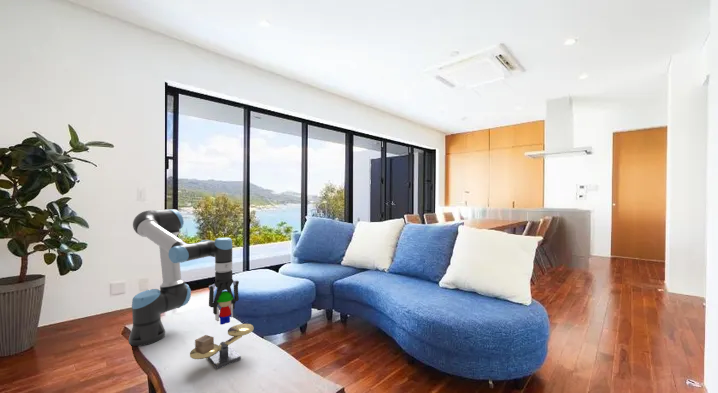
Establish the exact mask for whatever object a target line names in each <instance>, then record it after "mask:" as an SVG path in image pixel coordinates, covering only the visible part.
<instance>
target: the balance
mask: <svg viewBox="0 0 718 393" xmlns="http://www.w3.org/2000/svg"><path fill="white" fill-rule="evenodd" d="M254 328H255V327H254V325H253V324H251V323H240V324H236V325H233V326H231V327H229V328H228V330H227V335H229V336H230V338H229V339H227V340H225V341H221V342H220V344H219V345H218V344H216V343H214V349H213V350H211V351H209V352H207V353H205V354H201V353H198V352H195V348H193V349H192V350H191V351H190V352H189V357H190V358H191V359H192V360H193V359H194V360H205V359H206V360H208V361H209V362H210V363H211V364H212V365H213V366H214V368H215V369H216V370H219V369H220V368H223V367H225V366H228V365H231V364H233V363H237V362H239V361H241V355H240V354H239V353H238V352H237V351H235V349H234V348H232V347H231V346H229V345H231V344H233V343H234V342H236V341H237V340H240V339H241V338H242V337H243V336H247V335H248V334H251V333H252V332H253V331H254Z"/></svg>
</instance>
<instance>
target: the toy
mask: <svg viewBox="0 0 718 393" xmlns="http://www.w3.org/2000/svg"><path fill="white" fill-rule="evenodd" d="M233 297H234V296H233ZM233 297H231V294H230V293H229V292H228V291H227V290H223V291H222V293H221V295H220V297H219V300H217V302H218V305H217V306H218V307H219V325H225V324H230V322H231V317H230V316H231V315H232V314H231V310H230V308H229V305H230V303H231V300H232V299H233Z"/></svg>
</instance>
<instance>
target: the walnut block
mask: <svg viewBox="0 0 718 393" xmlns="http://www.w3.org/2000/svg"><path fill="white" fill-rule="evenodd" d="M214 337H215V336H211V335H207V334H205V335H203V336H201V337H198V338H196V339H195V340H194V347H195V352H198V353H201V354H205V353H207V352H209V351H211V350H213V349H214V344H215V342H214V341H215V340H214V339H215V338H214Z"/></svg>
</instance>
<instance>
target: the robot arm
mask: <svg viewBox="0 0 718 393" xmlns="http://www.w3.org/2000/svg"><path fill="white" fill-rule="evenodd" d="M184 222H185V221H184V217H183V215H182V213H181V212H180V211H178V209H173V208H172V209H171V208H167V209H155V210H153V209H152V210H145V211H141V212H139V213H138V214H137V215H136V216H135V217H134V219H133V221H132V228H133V231H134V232H135V233H136V234H137V235H139V237H142V238H147V239H149V240H150V242H151V241H152V243H154V244H156V245H157V246H158V247H159V256H160V266H161V276H162V283H161V284H160V286H159V289H158V288H152V289H146V290H144V291H141V292H138V293H137V294H136V295H134V296H133V297H132V301H131V311H132V312H131V313H132V314H131V315H132V328H131V331H130V334H129V337H128V344H129V345H130V346H133V347H135V346H136V347H138V346H139V345H141V346H145V345H144V344H146V345H150V344H153V343H157V342H158V341H160V340H162V339H163V338H164V337H165V336H166V329H165V327H164V325H163V322H162V320H161V319H162V318H161V316H162V315H161V314H164V313H167V312H169V311H173V310H177V309H180V308H182V307H183V306H186V305H187V304H188V303H189V302H190V300H191V296H192V290H191V288H190V286H189V284H187V283H186V281H185V280H184V279H182V274H181V265H180V264H181V263H186V262H189V261H193V260H198V259H202V258H203V259H204V258H207V257H211V258H212V257H213V258H214V263H215V264H214V270H215V272H214V273H215V274H214V275H215V276H214V280H215V281H214V283H213V284H209V285H208V290H209V294H208V297H209V298H208V307H210V308H212V314H213V315H215V317H214V318H215V321H217V322H220V318H219V313H220V306H219V305H218V302H217V300H219V297H220V295H221V293H222V291H228V292H229V293H230V294H231V297H233V299H232V300H231V303H230V305H229V308H230V310H231V314H232V315H231V316H230V318H233V317H234V310H235V308H236V307H235V306H236V305H235V304H236V302H238V301H239V297H240V296H239V282H240V281H239V280H237V279H235V280H234V279H233V240H232V238H231V237H218V238H215V240H211V239H202V240H200V241H199V242H194V243H187V242H185V241H183V240H182V239H180V238H179V237H178V235H179V234H180V232H181V231H180V230H181V229H182V228H183V226H184ZM232 285H233V292H232ZM215 289H216V293H215V291H214V290H215ZM214 294H215V295H214ZM149 343H150V344H149ZM139 347H140V346H139Z"/></svg>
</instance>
